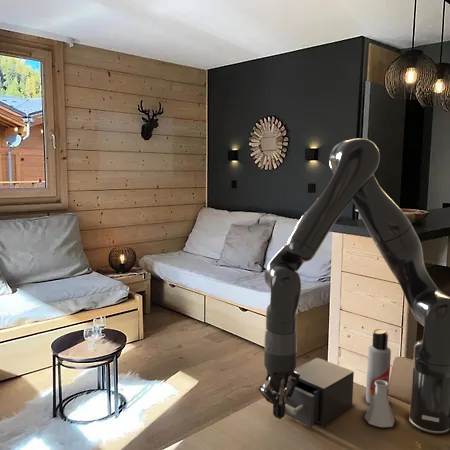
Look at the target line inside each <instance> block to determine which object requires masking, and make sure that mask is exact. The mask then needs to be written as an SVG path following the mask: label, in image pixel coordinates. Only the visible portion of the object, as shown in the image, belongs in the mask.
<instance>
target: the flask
mask: <svg viewBox="0 0 450 450" xmlns="http://www.w3.org/2000/svg"><path fill="white" fill-rule="evenodd" d="M375 385H376V389H375V394H374V397H373V400H372V402H371V404H369V407H368V408H367V411H366V413H365V415H364V419H365V421H366V422H368V424H369V425H372V426H375V427H378V428H393V427H394V423H395V417H394V415H393V412H392V409H391V406H390V402H389V397H388V398H387V386H388V383H387V382H386V381H383V380H376V381H375Z"/></svg>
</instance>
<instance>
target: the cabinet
mask: <svg viewBox="0 0 450 450" xmlns="http://www.w3.org/2000/svg"><path fill="white" fill-rule="evenodd" d="M294 372H296V373H298V374H300V377H299V380H298V381H300V382H303V383H305V384H307V385H309V386H312V387H314V388H316V389H318V390H321V408H320V418H319V419H317V420H315V421H314V423H317V424H319V425H321V426H324V425H325V424H327V423H328V422H330V421H331V420H333V419H335V418H336V417H338V416H339V415H341V414H342V413H343V412H345V411H346V410H348V409H349V408H351V407H352V406H353V398H354V397H353V396H354V376H355V371H354V370H352V369H348V368H345V367H343V366H340V365H338V364H335V363H332V362H330V361H327V360H325V359H322V358H320V357H315V358H313V359H312V360H310V361H307V362H305V363H304V364H301V365H299V366H296V368H295V369H294Z"/></svg>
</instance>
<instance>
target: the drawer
mask: <svg viewBox="0 0 450 450" xmlns="http://www.w3.org/2000/svg"><path fill="white" fill-rule="evenodd" d="M290 387H291V386H290ZM320 408H321V390H318V389H316V388H314V387H312V386H309V385H307V384H305V383H303V382H300V381H298V382H297V384H296V387H295V389H294V391H293V394H292V396H291V397H288V398H287V402H286V403H285V416H288V417H290V418H292V419H294V420H295V421H298V422H300V423H302V424H304V425H305V426H308V427H309V428H312V427H314V425H315V420H317V419H319V418H320Z"/></svg>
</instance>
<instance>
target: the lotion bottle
mask: <svg viewBox="0 0 450 450" xmlns="http://www.w3.org/2000/svg"><path fill="white" fill-rule="evenodd" d="M388 342H389V333H388V332H387V330H385V329H380V328H379V329H374V330H373V332H372V344H371V345H369V346H368V349H367V367H366V368H367V369H366V384H365V385H366V387H365V401H366V403H367V404H369V405H370V404H371V402H372V400H373V397H374V394H375V389H376V385H375V381H376V380H383V381H386V382H387V383H388V386H387V398H388V399H389V393H390V392H389V391H390V390H389V389H390V376H391V375H390V373H391V359H392V350H391V348H390V347H389V346H388Z"/></svg>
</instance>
